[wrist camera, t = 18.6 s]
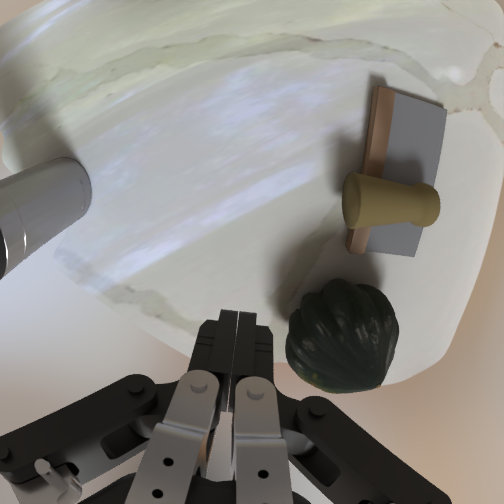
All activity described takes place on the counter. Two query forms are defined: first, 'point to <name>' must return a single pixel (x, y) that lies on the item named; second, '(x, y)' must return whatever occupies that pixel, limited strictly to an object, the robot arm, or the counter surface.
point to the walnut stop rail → (374, 154)
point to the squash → (342, 338)
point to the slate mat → (409, 166)
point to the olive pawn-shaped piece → (387, 202)
